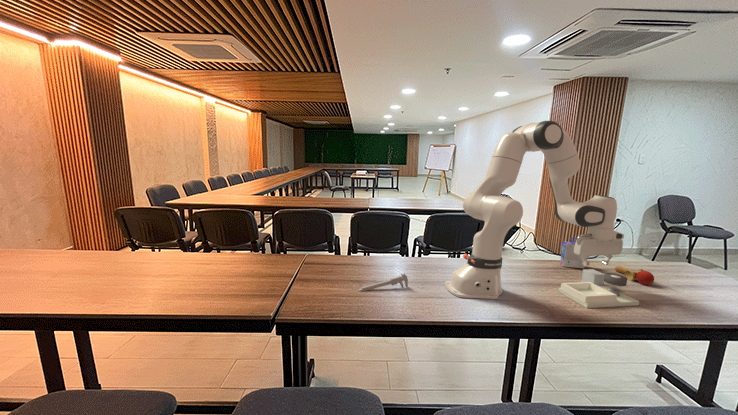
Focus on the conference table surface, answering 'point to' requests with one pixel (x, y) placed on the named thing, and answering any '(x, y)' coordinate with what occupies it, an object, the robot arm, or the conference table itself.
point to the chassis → (596, 295)
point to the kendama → (637, 275)
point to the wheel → (615, 279)
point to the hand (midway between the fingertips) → (595, 264)
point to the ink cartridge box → (570, 255)
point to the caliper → (392, 281)
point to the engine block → (593, 277)
